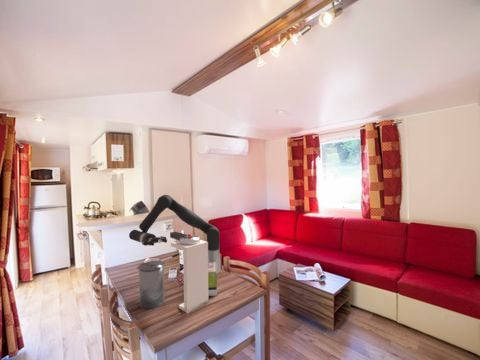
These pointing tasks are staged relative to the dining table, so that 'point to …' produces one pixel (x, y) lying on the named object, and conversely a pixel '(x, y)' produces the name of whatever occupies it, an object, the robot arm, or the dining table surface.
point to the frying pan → (158, 258)
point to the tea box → (212, 279)
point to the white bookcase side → (194, 275)
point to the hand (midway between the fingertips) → (160, 242)
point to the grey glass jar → (151, 284)
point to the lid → (185, 238)
